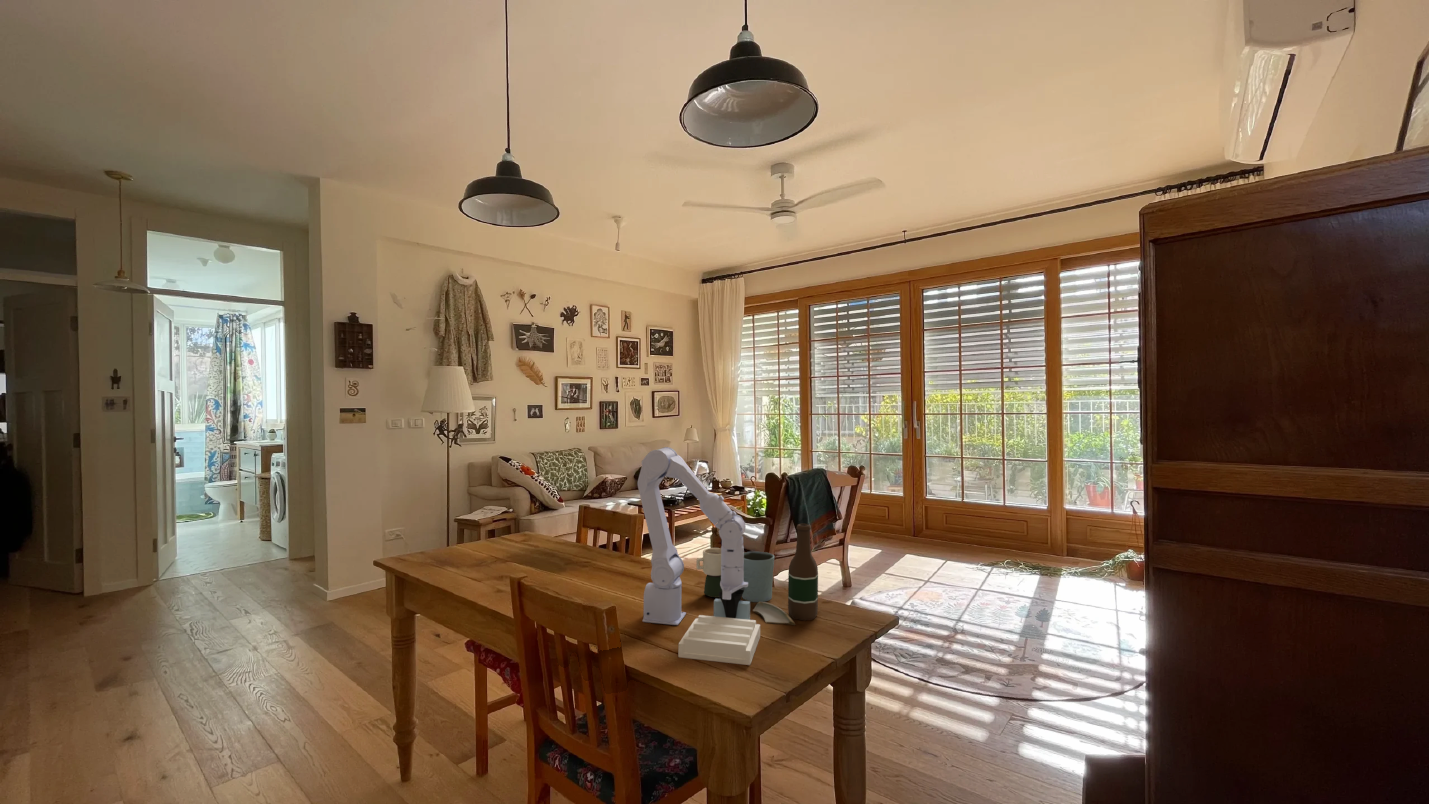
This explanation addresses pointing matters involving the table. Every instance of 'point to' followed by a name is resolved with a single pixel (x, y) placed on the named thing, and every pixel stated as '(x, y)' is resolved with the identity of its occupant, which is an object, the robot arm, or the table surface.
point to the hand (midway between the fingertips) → (731, 618)
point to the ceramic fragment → (772, 614)
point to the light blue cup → (758, 576)
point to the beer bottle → (803, 578)
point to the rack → (720, 640)
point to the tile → (742, 609)
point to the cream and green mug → (711, 571)
